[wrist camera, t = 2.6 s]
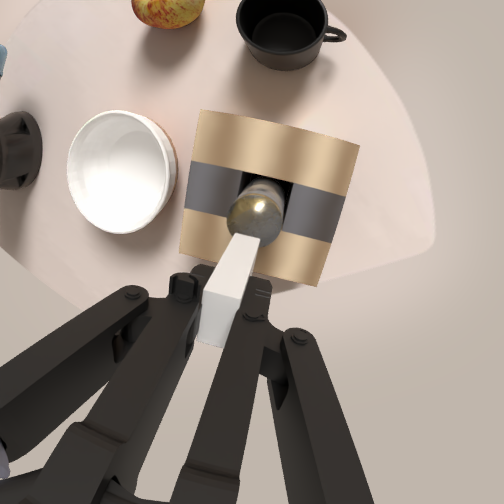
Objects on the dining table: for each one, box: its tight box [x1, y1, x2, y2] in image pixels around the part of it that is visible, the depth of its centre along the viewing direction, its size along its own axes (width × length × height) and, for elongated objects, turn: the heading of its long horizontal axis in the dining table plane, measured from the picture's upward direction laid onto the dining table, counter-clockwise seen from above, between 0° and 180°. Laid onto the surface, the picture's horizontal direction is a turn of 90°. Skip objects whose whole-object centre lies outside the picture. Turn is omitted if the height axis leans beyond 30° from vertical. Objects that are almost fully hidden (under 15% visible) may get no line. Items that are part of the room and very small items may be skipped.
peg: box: [227, 177, 285, 248], centre depth 28 cm, size 4×4×9 cm
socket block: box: [179, 109, 360, 287], centre depth 35 cm, size 16×16×10 cm
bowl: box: [67, 110, 178, 234], centre depth 37 cm, size 16×16×8 cm
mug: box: [236, 0, 347, 71], centre depth 27 cm, size 9×12×9 cm
